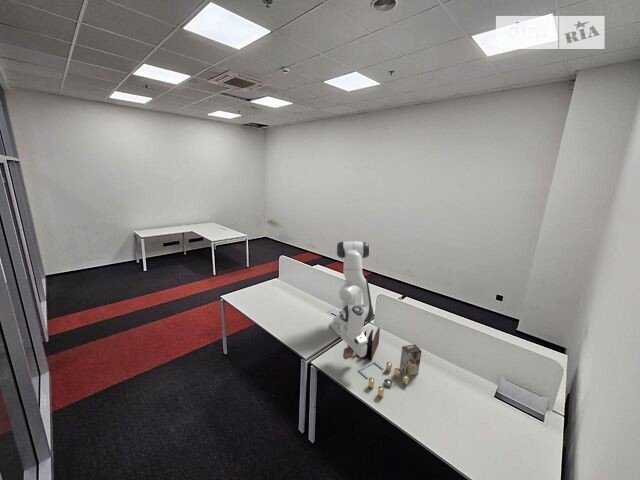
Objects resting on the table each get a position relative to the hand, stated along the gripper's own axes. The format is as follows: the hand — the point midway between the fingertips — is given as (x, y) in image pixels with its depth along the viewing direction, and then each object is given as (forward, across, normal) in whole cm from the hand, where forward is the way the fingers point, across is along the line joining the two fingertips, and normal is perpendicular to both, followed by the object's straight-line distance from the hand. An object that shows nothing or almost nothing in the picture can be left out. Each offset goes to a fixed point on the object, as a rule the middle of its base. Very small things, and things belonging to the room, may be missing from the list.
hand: (351, 352), depth 158 cm
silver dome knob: (+8, +22, +10) cm, 26 cm away
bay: (+9, +10, +9) cm, 16 cm away
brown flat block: (+2, 0, 0) cm, 2 cm away
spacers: (+8, +22, +9) cm, 25 cm away
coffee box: (+8, +22, +28) cm, 36 cm away
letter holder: (+10, -5, +20) cm, 23 cm away
